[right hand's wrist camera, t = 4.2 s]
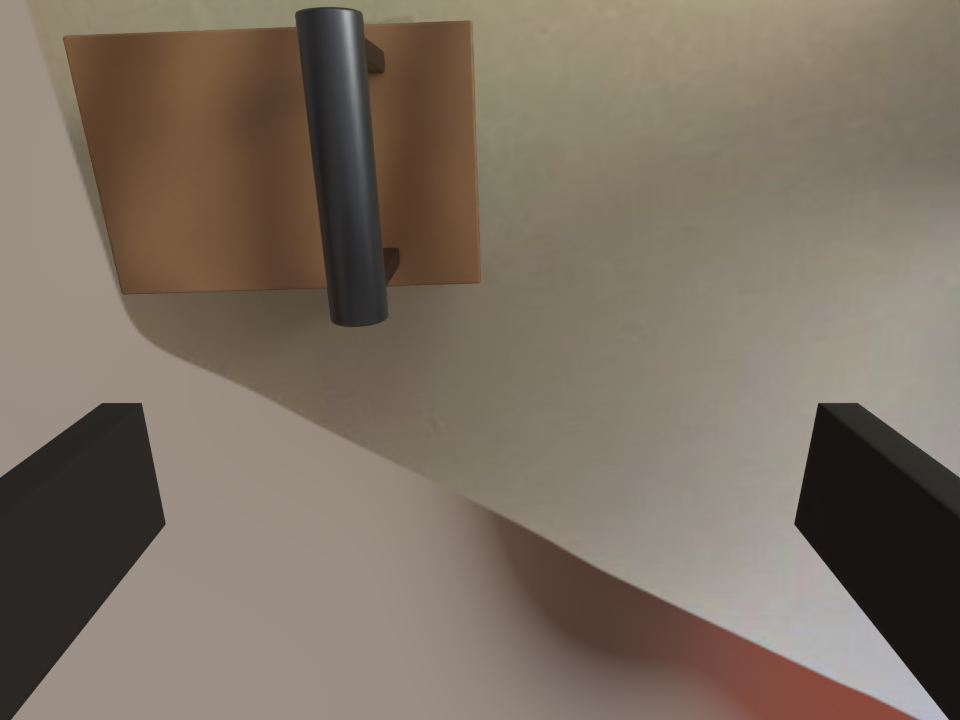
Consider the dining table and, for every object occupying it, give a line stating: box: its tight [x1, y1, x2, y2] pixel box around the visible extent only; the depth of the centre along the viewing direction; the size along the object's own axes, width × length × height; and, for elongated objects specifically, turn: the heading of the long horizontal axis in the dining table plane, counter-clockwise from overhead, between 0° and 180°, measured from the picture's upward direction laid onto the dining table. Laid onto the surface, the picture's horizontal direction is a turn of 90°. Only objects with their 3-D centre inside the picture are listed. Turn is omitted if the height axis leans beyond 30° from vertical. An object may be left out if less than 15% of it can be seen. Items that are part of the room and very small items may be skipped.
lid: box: [63, 7, 481, 327], centre depth 20 cm, size 14×9×9 cm, turn 92°
